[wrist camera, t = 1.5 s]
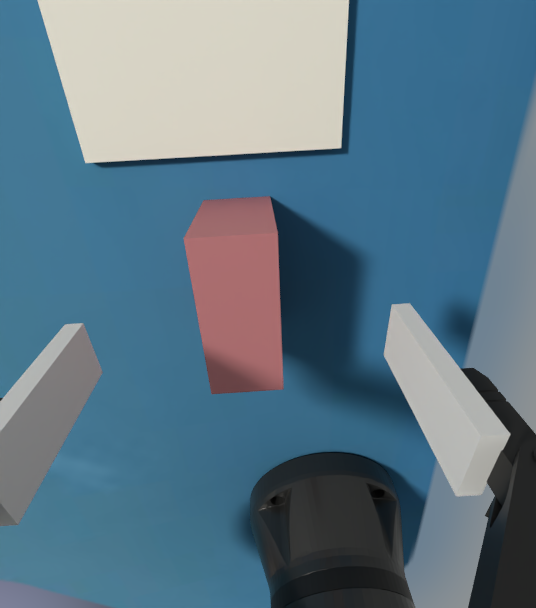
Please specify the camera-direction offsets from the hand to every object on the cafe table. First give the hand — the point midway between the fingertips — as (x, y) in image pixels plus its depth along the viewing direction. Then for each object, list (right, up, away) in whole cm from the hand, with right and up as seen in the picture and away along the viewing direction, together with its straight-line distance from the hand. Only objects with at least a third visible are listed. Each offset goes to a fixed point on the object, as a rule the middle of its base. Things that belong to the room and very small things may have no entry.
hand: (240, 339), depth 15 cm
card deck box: (0, +4, +8) cm, 9 cm away
